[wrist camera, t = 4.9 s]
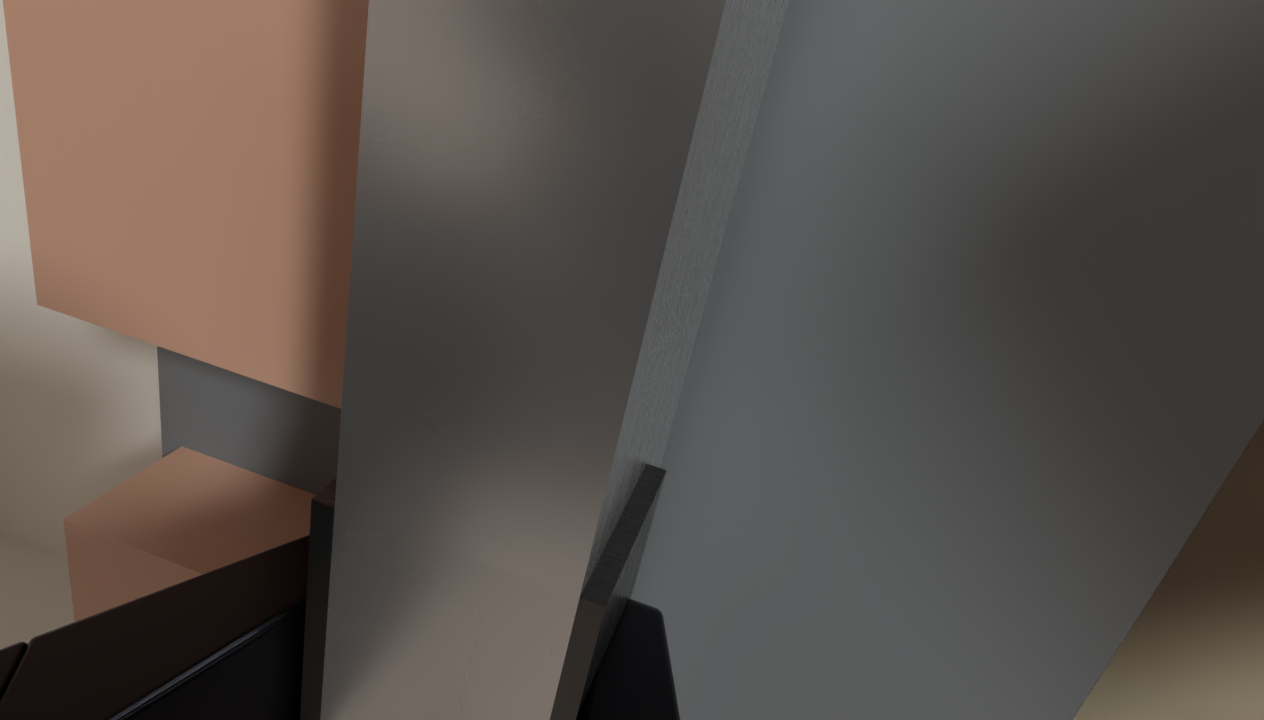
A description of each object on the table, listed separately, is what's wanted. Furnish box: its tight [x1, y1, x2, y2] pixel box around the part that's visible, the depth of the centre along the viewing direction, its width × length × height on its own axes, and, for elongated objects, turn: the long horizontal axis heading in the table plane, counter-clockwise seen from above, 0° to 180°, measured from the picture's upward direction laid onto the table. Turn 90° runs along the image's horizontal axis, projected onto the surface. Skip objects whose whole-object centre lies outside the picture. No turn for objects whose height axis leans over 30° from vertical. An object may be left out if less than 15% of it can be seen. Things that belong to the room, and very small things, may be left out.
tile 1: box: [3, 0, 369, 409], centre depth 8 cm, size 5×5×2 cm
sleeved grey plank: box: [300, 0, 789, 720], centre depth 8 cm, size 2×15×4 cm, turn 167°
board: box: [157, 0, 1264, 720], centre depth 12 cm, size 13×17×3 cm
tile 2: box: [63, 446, 315, 622], centre depth 12 cm, size 5×5×2 cm
